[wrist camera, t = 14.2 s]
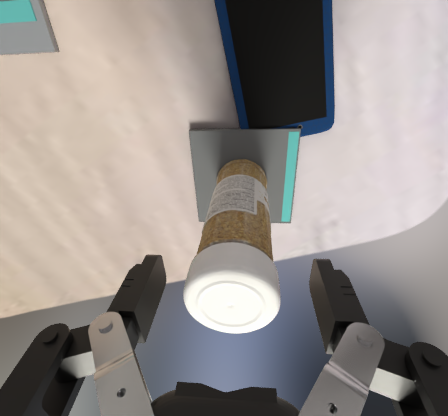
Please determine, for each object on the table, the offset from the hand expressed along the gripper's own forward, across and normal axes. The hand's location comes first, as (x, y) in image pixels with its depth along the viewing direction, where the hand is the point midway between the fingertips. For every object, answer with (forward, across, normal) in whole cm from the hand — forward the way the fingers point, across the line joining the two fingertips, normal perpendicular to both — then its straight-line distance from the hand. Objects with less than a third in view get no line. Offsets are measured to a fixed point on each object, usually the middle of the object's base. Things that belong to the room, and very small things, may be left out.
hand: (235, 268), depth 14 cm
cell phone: (+12, -3, -10) cm, 16 cm away
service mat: (+12, 0, 0) cm, 12 cm away
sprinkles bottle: (+11, 0, 0) cm, 11 cm away
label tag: (+12, +17, -13) cm, 24 cm away
